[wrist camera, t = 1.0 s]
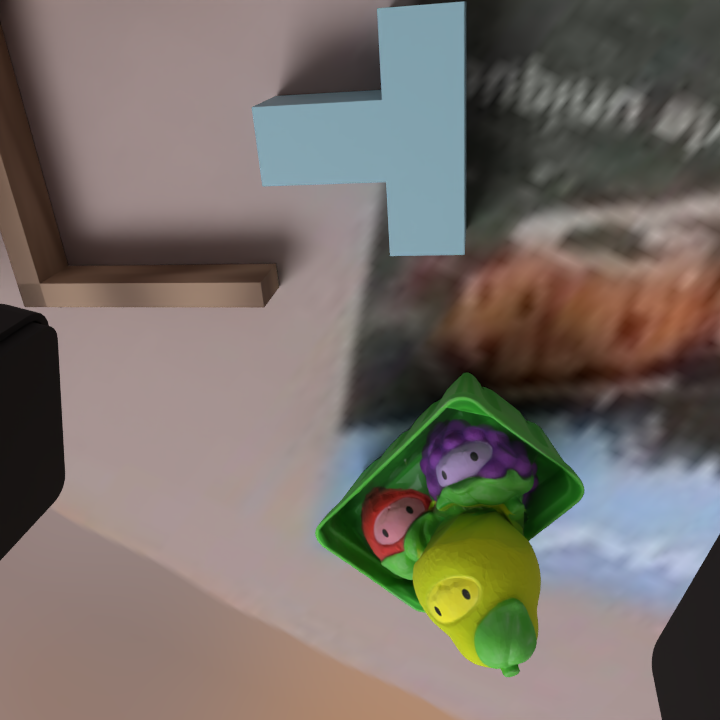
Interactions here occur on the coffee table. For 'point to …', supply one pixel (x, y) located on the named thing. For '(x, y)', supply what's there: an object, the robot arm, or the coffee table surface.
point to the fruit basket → (460, 521)
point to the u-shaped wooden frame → (94, 283)
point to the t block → (387, 131)
